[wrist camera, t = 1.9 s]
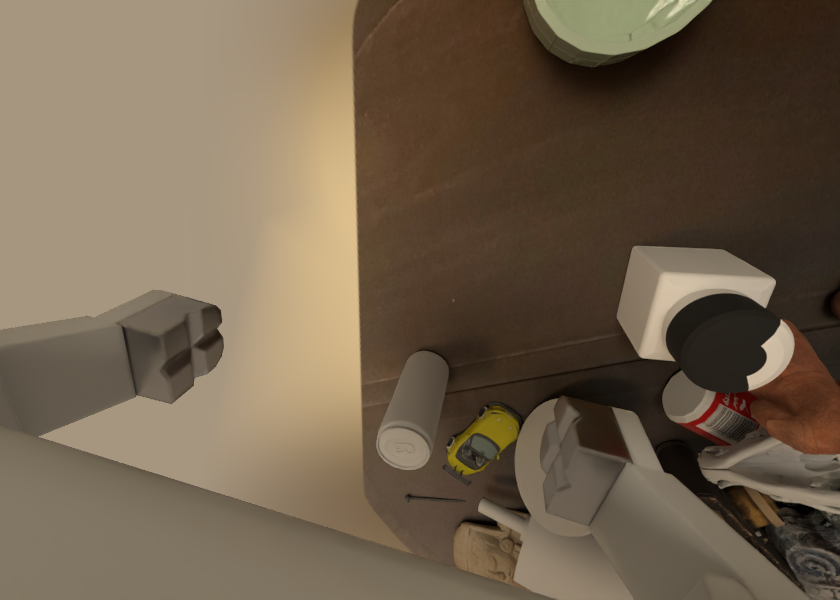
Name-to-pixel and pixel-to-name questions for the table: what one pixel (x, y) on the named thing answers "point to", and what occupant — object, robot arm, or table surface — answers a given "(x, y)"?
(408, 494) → the screw
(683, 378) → the soda can
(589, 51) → the bowl
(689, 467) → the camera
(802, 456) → the white crumpled lump
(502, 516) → the motor
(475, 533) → the figurine
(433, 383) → the beverage can
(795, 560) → the sculpture
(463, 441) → the toy car
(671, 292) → the medicine bottle
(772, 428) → the small clay pieces
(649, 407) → the table surface
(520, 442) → the monster figurine
